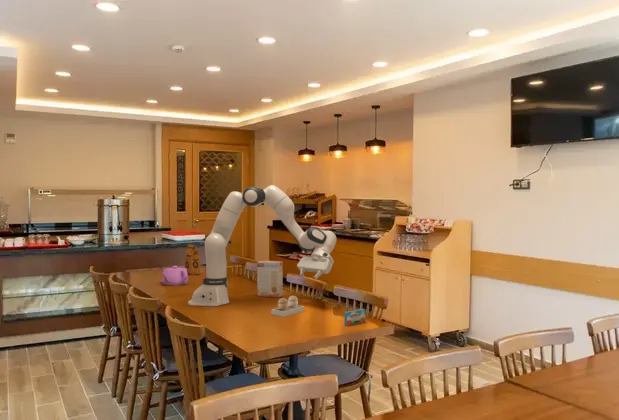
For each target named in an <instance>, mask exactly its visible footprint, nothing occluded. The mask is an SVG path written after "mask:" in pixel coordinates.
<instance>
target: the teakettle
mask: <svg viewBox="0 0 619 420" xmlns="http://www.w3.org/2000/svg"><path fill="white" fill-rule="evenodd" d="M161 271H162V272H161V274H162V275H161V276H162V278H161V282H162V285H163V284H165V286H169V285H173V286H172V287H178V286H177V285H180V286H184V285H183V284H185V285H187V284H188V283H189V276H188V275H189V274H188V273H187V268H185V267H178V265H172V267H167V268H163V269H162V270H161Z"/></svg>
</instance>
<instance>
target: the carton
mask: <svg viewBox="0 0 619 420" xmlns="http://www.w3.org/2000/svg"><path fill="white" fill-rule="evenodd" d="M302 312H303V313H304V312H305V306H303V305H299V304H298V308H295V309H292V308H288V311H284V312H283V311H278V307H276V308H272V309H271V312H270V313H271V314H270V315H272V316H277V317H282V318H284V317H289V316H291V315H295V314H296V315H297V314H299V313H302Z"/></svg>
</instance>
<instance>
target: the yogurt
mask: <svg viewBox="0 0 619 420" xmlns="http://www.w3.org/2000/svg"><path fill="white" fill-rule="evenodd" d="M363 323H366V309H365V308H359V309H355V310H349V311H345V312H344V326H347V327H348V325H349V326H354V325H357V324H358V325H359V324H363Z"/></svg>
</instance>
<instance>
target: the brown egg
mask: <svg viewBox="0 0 619 420" xmlns="http://www.w3.org/2000/svg"><path fill="white" fill-rule="evenodd" d="M277 308H278V311H283V312H284V311H288V299H287V298H285V297H280V298H278V301H277Z"/></svg>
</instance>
